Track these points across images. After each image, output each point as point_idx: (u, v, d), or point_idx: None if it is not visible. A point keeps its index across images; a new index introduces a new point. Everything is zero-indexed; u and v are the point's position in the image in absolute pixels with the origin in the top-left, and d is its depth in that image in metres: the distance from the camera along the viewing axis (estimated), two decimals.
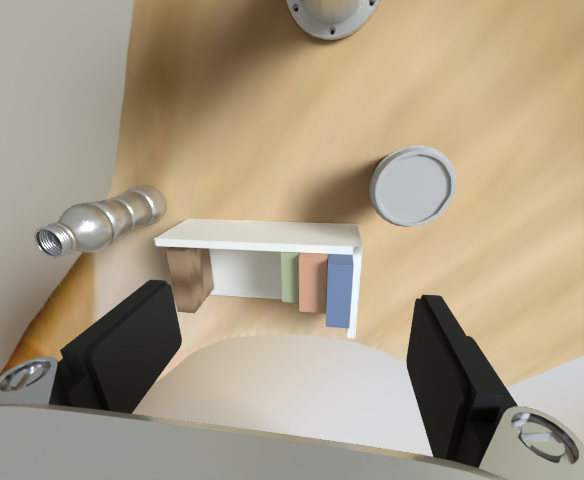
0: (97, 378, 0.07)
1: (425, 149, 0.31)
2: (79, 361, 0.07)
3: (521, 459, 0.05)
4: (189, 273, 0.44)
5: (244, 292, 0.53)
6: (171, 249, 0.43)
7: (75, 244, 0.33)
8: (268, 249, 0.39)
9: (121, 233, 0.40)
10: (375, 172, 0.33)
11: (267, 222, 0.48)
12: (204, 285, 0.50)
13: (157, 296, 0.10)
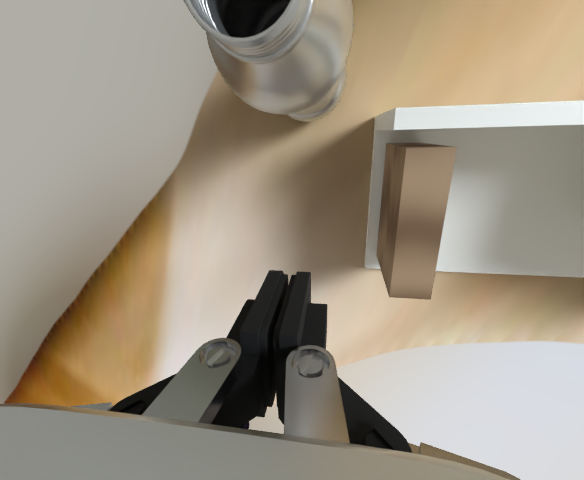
0: (266, 358, 0.08)
1: None
2: (255, 342, 0.08)
3: (305, 388, 0.06)
4: (444, 206, 0.19)
5: (465, 264, 0.28)
6: (411, 147, 0.18)
7: (312, 9, 0.09)
8: None
9: None
10: None
11: None
12: None
13: (284, 285, 0.10)
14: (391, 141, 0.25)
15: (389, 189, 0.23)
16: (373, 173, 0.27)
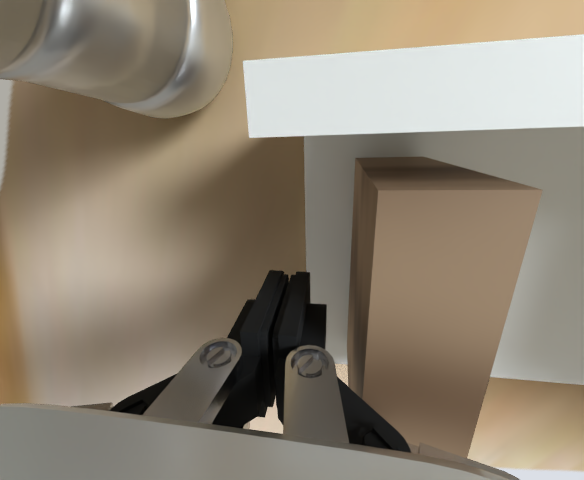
0: (267, 359, 0.08)
1: None
2: (256, 342, 0.08)
3: (304, 388, 0.06)
4: (489, 340, 0.07)
5: None
6: (394, 184, 0.06)
7: None
8: None
9: None
10: None
11: None
12: None
13: (284, 285, 0.10)
14: (335, 154, 0.13)
15: (356, 257, 0.11)
16: (307, 211, 0.15)
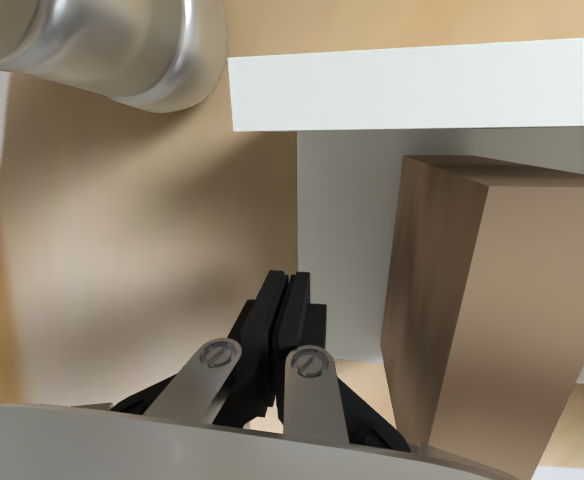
0: (267, 358, 0.08)
1: None
2: (256, 342, 0.08)
3: (304, 388, 0.06)
4: (577, 341, 0.07)
5: None
6: (495, 181, 0.06)
7: None
8: None
9: None
10: None
11: None
12: None
13: (284, 285, 0.10)
14: (327, 152, 0.14)
15: (412, 256, 0.11)
16: (299, 207, 0.15)
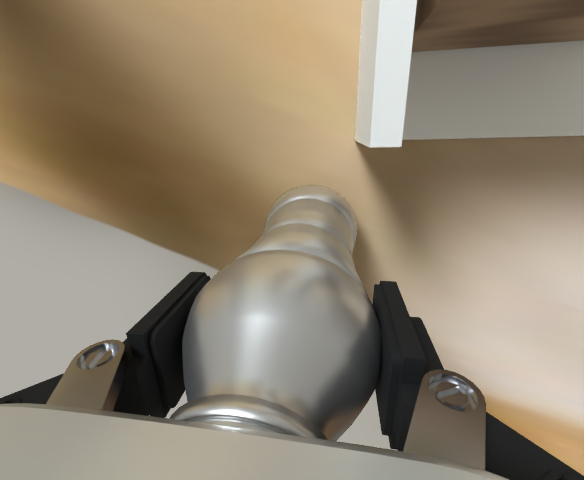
0: (158, 360, 0.08)
1: None
2: (143, 343, 0.08)
3: (439, 415, 0.06)
4: None
5: None
6: None
7: (270, 416, 0.05)
8: None
9: (332, 248, 0.11)
10: None
11: None
12: None
13: (200, 286, 0.10)
14: None
15: (492, 26, 0.13)
16: (432, 137, 0.19)
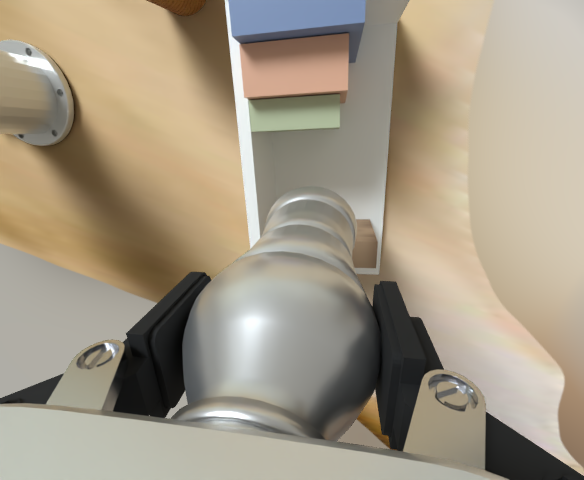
0: (158, 360, 0.08)
1: None
2: (143, 343, 0.08)
3: (439, 415, 0.06)
4: None
5: (376, 205, 0.35)
6: None
7: (270, 418, 0.05)
8: (250, 151, 0.27)
9: (332, 250, 0.11)
10: None
11: None
12: None
13: (200, 286, 0.10)
14: None
15: None
16: None
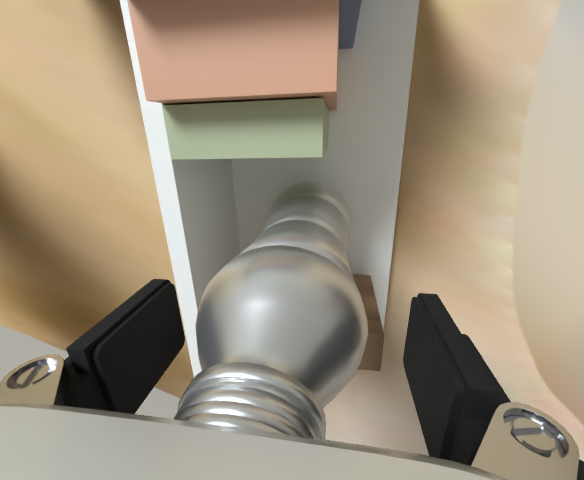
0: (103, 376, 0.08)
1: None
2: (85, 359, 0.07)
3: (513, 454, 0.05)
4: None
5: (381, 256, 0.25)
6: None
7: (270, 377, 0.07)
8: (173, 191, 0.16)
9: (326, 243, 0.12)
10: None
11: None
12: None
13: (161, 295, 0.10)
14: None
15: None
16: None
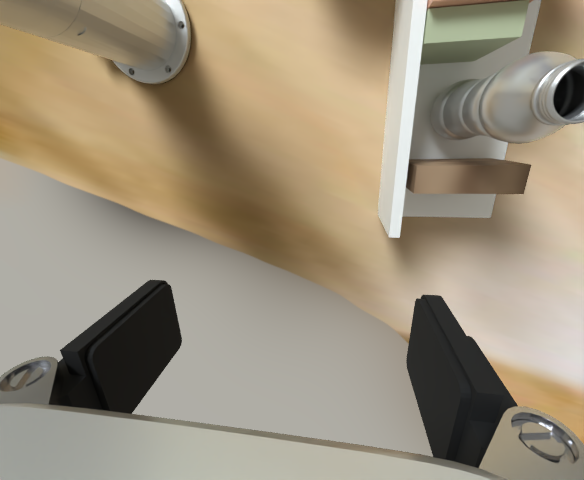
0: (97, 378, 0.07)
1: None
2: (79, 361, 0.07)
3: (521, 459, 0.05)
4: (454, 165, 0.30)
5: (500, 143, 0.35)
6: (412, 188, 0.32)
7: None
8: (417, 66, 0.26)
9: None
10: None
11: (387, 103, 0.36)
12: (482, 160, 0.33)
13: (157, 296, 0.10)
14: None
15: None
16: (414, 215, 0.40)
